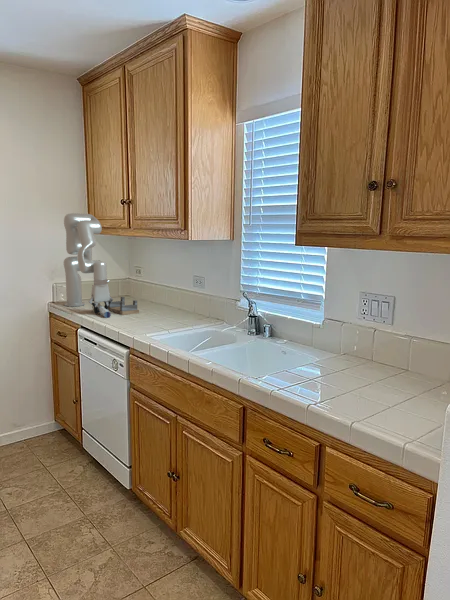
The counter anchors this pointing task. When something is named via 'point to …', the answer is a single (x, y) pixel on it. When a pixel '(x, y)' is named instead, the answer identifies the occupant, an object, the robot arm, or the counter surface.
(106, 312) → the white elongated piece
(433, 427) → the counter surface
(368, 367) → the counter surface
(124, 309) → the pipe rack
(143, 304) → the counter surface
